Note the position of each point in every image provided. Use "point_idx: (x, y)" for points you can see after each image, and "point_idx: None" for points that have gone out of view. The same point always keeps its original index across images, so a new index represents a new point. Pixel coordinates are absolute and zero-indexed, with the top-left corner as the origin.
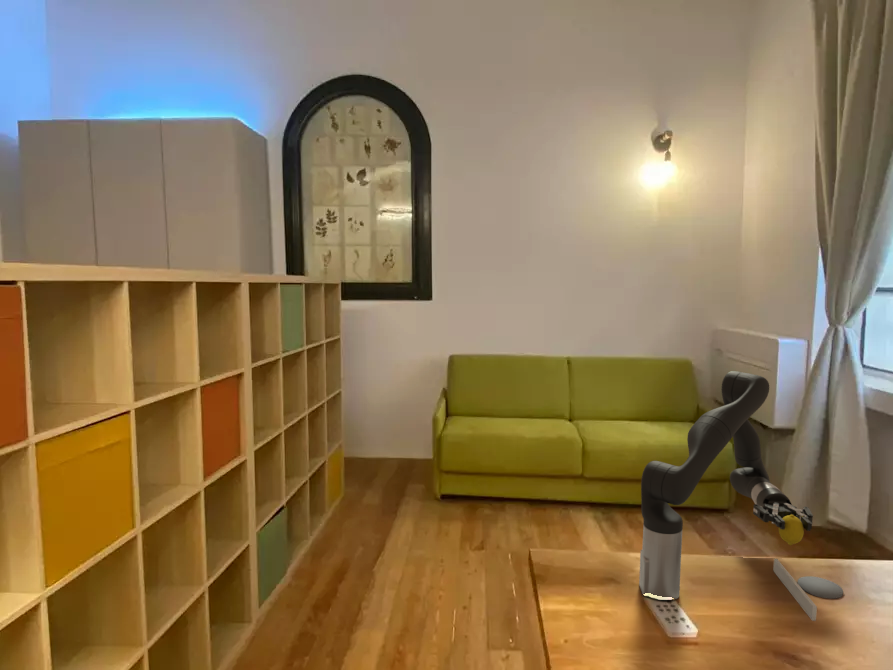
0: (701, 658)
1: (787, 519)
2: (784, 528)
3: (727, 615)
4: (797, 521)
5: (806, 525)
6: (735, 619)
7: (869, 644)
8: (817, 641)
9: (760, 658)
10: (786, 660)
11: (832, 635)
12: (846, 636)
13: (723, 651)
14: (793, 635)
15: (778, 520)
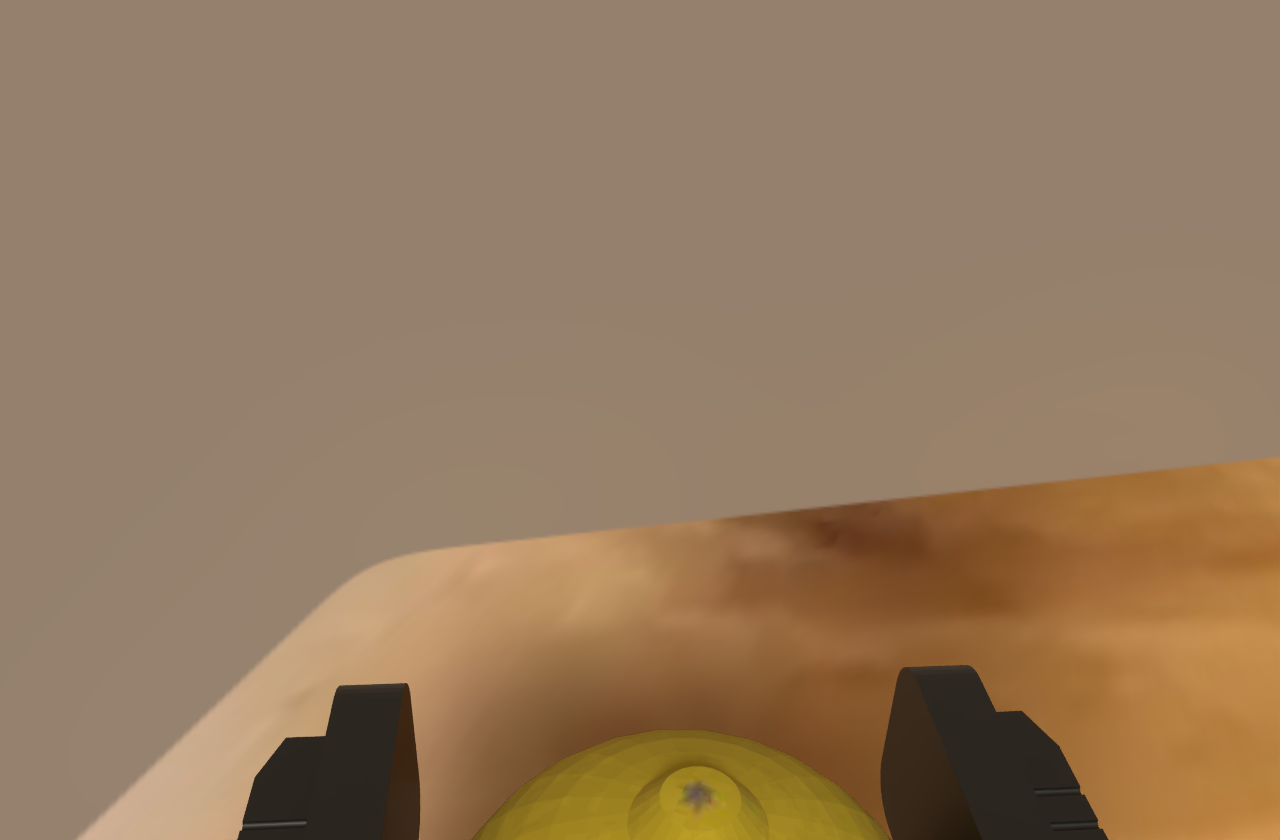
0: (1242, 479)
1: (825, 791)
2: (884, 760)
3: (1227, 820)
4: (603, 745)
5: (407, 780)
6: (1160, 782)
7: (344, 671)
8: (658, 652)
9: (986, 508)
10: (866, 511)
11: (534, 718)
12: (443, 722)
13: (1161, 524)
14: (789, 682)
15: (1035, 784)
